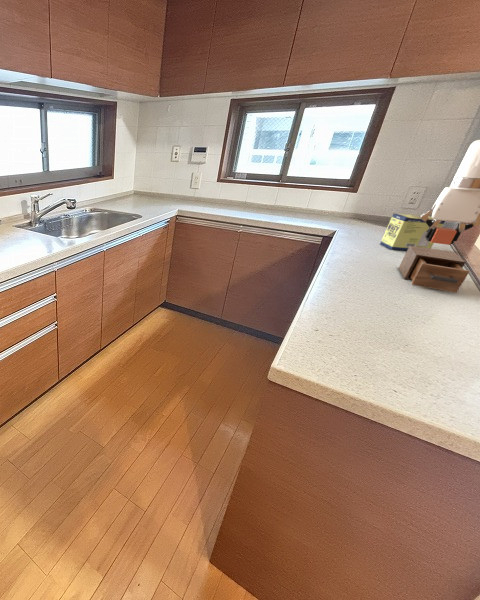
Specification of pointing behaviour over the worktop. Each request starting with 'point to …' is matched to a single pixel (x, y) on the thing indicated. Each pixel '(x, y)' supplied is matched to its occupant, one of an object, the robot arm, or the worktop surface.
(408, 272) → the cabinet
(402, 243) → the protein box
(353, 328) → the worktop surface
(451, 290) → the drawer
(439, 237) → the block
